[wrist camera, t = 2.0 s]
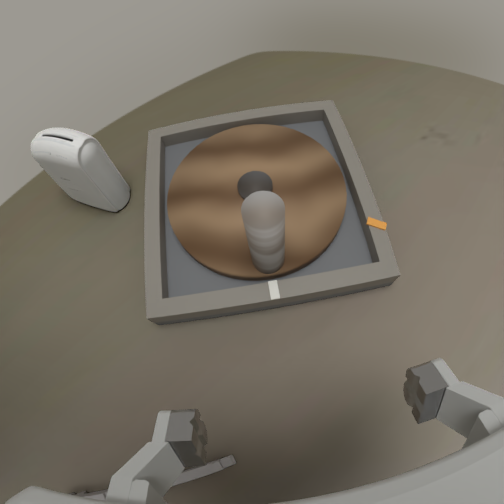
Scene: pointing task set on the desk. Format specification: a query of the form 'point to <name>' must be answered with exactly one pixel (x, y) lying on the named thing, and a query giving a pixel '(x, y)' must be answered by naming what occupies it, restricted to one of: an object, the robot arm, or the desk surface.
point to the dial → (257, 202)
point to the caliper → (183, 477)
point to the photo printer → (81, 168)
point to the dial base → (273, 290)
